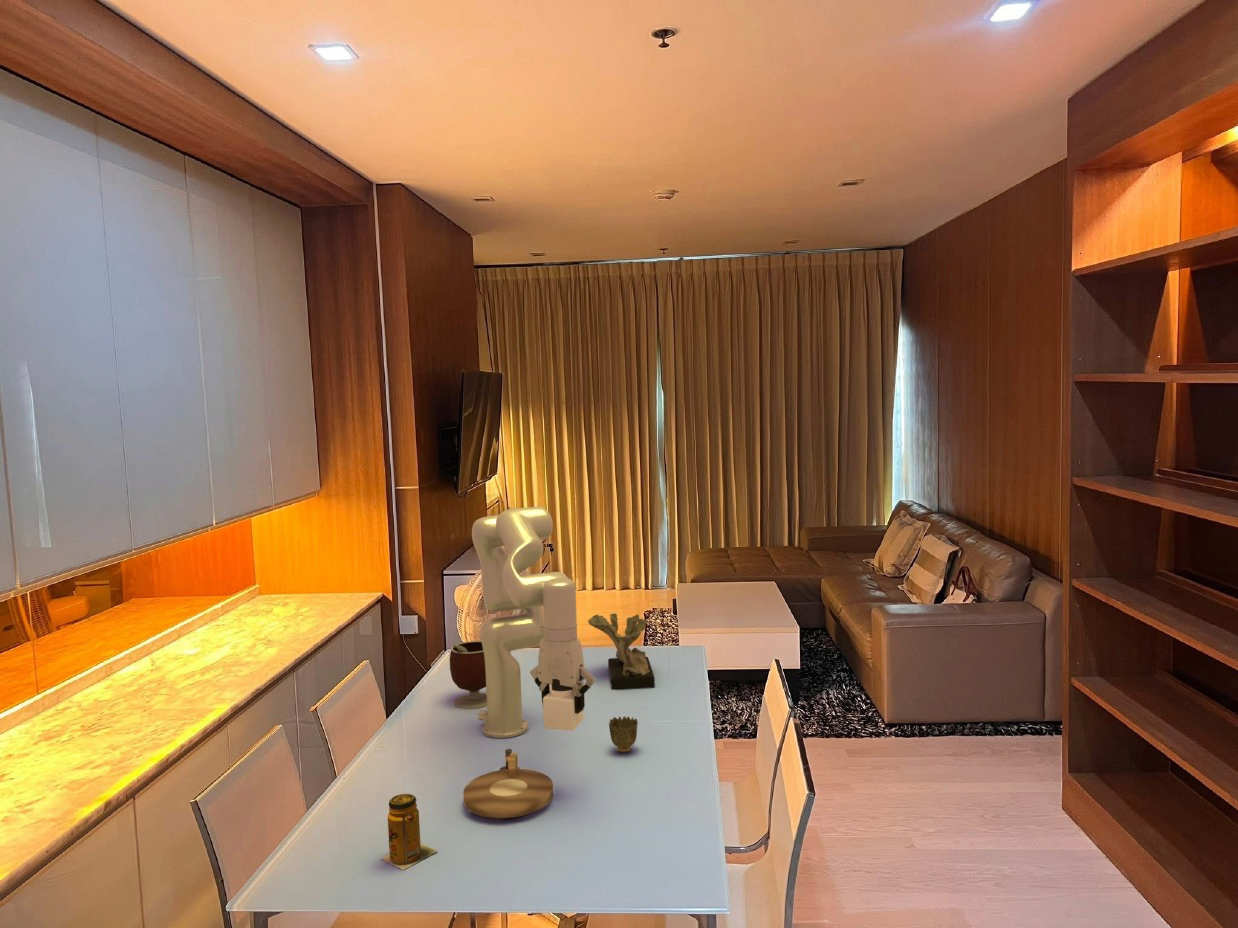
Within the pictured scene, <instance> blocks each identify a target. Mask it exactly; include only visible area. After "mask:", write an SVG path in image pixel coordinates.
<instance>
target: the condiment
mask: <svg viewBox="0 0 1238 928" xmlns="http://www.w3.org/2000/svg"><path fill="white" fill-rule="evenodd" d="M388 806H389V807H388V814H387V828H388V829H387V830H388V831H387V832H388V848H389V849H388V851H389V854H387V855H385V856H383V857H381V860H383V861H384V862H386V863H389V865H392V866H394V867H396V868H398V869H401V870H402V871H404V870H406V869H408V868H410V867H412V866H413V865H416V864H417V863H419V862H421V861H423V860H424V859H425V858H428V857H430V856H432V855H433V854H434V853H437V852H438V850H437V849H434V848H432V847H429V846H427V845H425V844H424V843H421V829H420V828H421V827H420V811H419V809H418V808H417V806H418V805H417V798H416V796H415V795H413V794H412V793H401V794H397V795H395V796H392V797H391V798H390V799H389V801H388Z"/></svg>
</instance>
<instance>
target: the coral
mask: <svg viewBox="0 0 1238 928" xmlns="http://www.w3.org/2000/svg"><path fill="white" fill-rule="evenodd" d="M609 617H610V618H609V620H610V622H609V621H608V619H607V618H606V617H604V616H603V615H599V614H594V615H593V616H592V617H590V618H589V619H587V620H588V621H587V622H588V624H589V625H590V626H592V627H593V628H595V629H598V630H600V631H601V632H603V633H604V634H605V635H607V636H608V637H609V638H610V640H611V641H612V642H613V644H614V646H615V648H616V652H615V657H613V658H608V660H607V662H608V663H607V665H608V668H607V669H608V674H609V681H610V689H611V691H612V690H613V691H617V690H631V689H632V690H634V689H635V690H636V689H638V690H639V689H652V688H655V685H656V684H655V681H656V680H655V673H654V671H653V669H652V665H651V661H650V659H649V657H648V656H647V655H646V651H642V650H639V649H638V648H637V647H634V648H632V649H631V648H630V646H631V645H632V644H633V643H634V642H635V641H637V639H639V638H640V636H641V633H642V632H644V630H645V628H646V624H647V620H646V619H644V618H640V614H635V615H632V616H631V617H630V616H629V617H627V618H626V624H625V625H626V627H625V630H624V634H625V635H622V636H621V634H619V633H618V630H619V623H618V620H619V619H618V614H617V613H610V614H609Z"/></svg>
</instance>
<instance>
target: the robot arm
mask: <svg viewBox="0 0 1238 928" xmlns="http://www.w3.org/2000/svg"><path fill="white" fill-rule="evenodd" d="M553 523H554V522H553V518H552V516H551V513H550V512H549V511H548V510H547V509H546V507H543V506H529V507H527V506H526V507H516V508H509V509H505V510H503V511H501V513H499V514H496V515H487V516H483V517H481V518H477V520H475V521H474V522H473V524H472V528H471V538H472V544H473V545H474V549H475V551H476V554H477V556H478V560H479V562H480V563H479V564H480V574H481V575H480V576H481V587H482V588H481V589H482V597H483V599H482V600H483V604H484V607H485V609H486V610H487V611H489V612H492V613H501V612H507V611H508V612H510V611H515V610H523V613H516V614H509V615H508V614H507V615H501V616H496V617H492V618H488V619H487V620H485V621H484V622H483V623H482V625H481V626H480V631H479V636H480V641H482V646H483V651H484V658H485V672H486V687H485V689H486V690H485V691H486V694H487V707H486V708H487V709H486V710H485V709H480V710H479V712H478V715H477V720H479V721H484V724H483V726H482V728H481V729H482V733H483V735H484V736H487V737H490V738H493V739H508V738H513V737H517V736H521V735H523V734H524V733H526V732H528V729H529V722H528V721H527V720H525V719H523V702H522V701H523V699H522V697H523V696H522V681H521V679H522V678H521V677H522V675H521V666H520V663H519V661H518V660H517V658H516V657H514V655H512V654H511V652H512V651H517V650H523V649H529V648H533V647H537V646H539V649H538V657H537V659H538V660H537V661H538V662H537V666H535V667H534V668H532V669H531V670H530V672H529V674H530V676H531V677H532V679H533V680H534V683H535V684H536V686H537V687H538V690H539V691H540V692H541V703H542V704H543V698H544V697H545V696H546V695H547V694H548V693H550V688H549V684H552V679H558V680H560V685H562V686H566V687H572V688H573V690H574V692H575V694H576V696H575V697H574V700H575V714H578V713H580V712H581V711H583V712H584V709H585V705H586V704H585V701H586V700H585V694H586V693H587V692H588V691H589V690H590V689H591V687H592V685H593V684H594V682H595V681H596V677H594V676H593V675H592V673H590V672H589V671H588V670H587V669H586V668H585V660H584V654H583V653H584V652H583V647H582V643H581V640H580V638H578V620H577V616H578V615H577V591H576V590H577V588H576V584H575V582H574V581H573V580H572V579H570V578H568V576H567V575H566V574H565V573H564V572H562V571H552V572H543V573H534V574H533V573H532V574H531V573H521V572H523V571H525V570H527V569H529V568H530V567H532V566H533V565H535V564H536V563H537V562H539V560H540V559H541V558H542V556H543V553H544V545H543V543H542V541H543V540H546V539H548V538H549V537H550V536H551V534H552V533H553V529H554V524H553ZM584 680H585V683H583V681H584Z"/></svg>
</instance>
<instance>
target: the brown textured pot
mask: <svg viewBox="0 0 1238 928" xmlns="http://www.w3.org/2000/svg"><path fill="white" fill-rule="evenodd" d="M638 722H639V721H638V719H637V718H634V717H632V718H630V716H627V717H626V716H625V715H624V716H623V717H621V716H618V717H615V716H614V717H613V718H612V719H611V718H610V719H609V722H608V728H609V733H610V734H609V735H610V739H611V742H612V744H613V745H614V746H615V747H616V751H617V752H618V753H619V754H622V753H625V754H629V753H630V752H631V751H632V746H634V744H635V743H636V740H637V735H638V724H639V723H638ZM628 752H629V753H628Z"/></svg>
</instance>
